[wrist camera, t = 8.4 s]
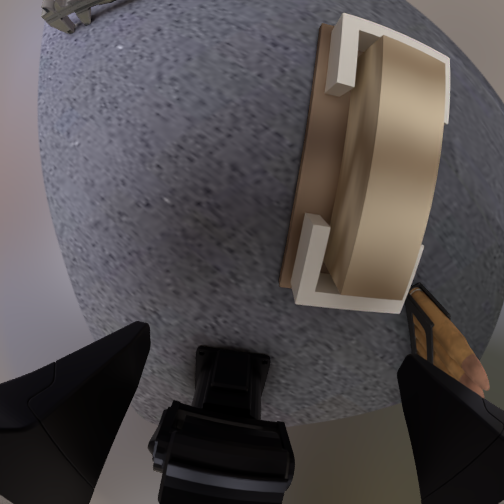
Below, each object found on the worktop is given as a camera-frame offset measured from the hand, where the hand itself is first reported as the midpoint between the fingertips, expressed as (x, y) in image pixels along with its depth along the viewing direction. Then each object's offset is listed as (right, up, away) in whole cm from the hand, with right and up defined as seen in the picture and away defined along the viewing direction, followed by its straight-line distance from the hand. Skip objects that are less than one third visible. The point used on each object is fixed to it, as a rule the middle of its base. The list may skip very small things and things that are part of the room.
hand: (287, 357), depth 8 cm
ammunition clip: (+15, -4, +14) cm, 21 cm away
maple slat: (+7, +9, +8) cm, 14 cm away
